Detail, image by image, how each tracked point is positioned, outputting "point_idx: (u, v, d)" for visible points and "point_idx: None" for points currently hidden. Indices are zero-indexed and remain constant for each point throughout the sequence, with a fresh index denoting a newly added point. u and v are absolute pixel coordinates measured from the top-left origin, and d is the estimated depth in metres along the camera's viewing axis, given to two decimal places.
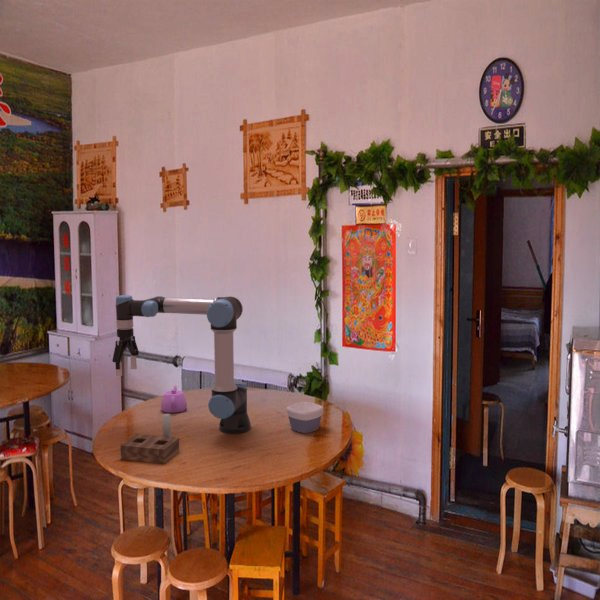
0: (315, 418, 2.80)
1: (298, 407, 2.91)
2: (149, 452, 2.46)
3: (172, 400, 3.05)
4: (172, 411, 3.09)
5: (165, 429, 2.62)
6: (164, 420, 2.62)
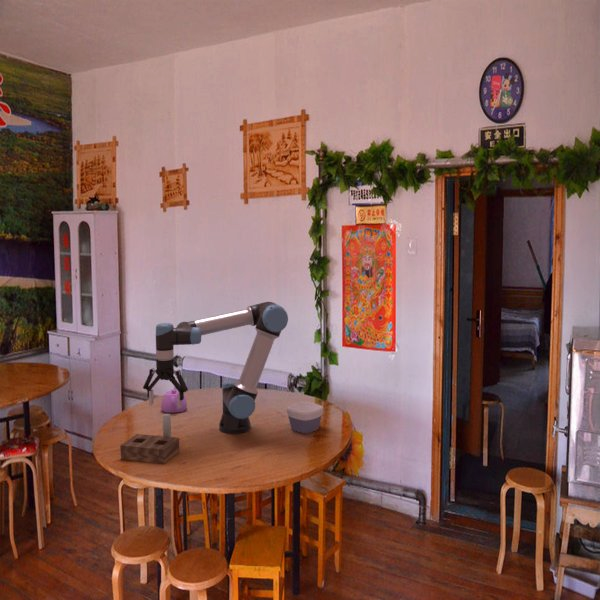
0: (315, 418, 2.80)
1: (298, 407, 2.91)
2: (149, 452, 2.46)
3: (172, 400, 3.05)
4: (172, 411, 3.09)
5: (165, 429, 2.62)
6: (164, 420, 2.62)
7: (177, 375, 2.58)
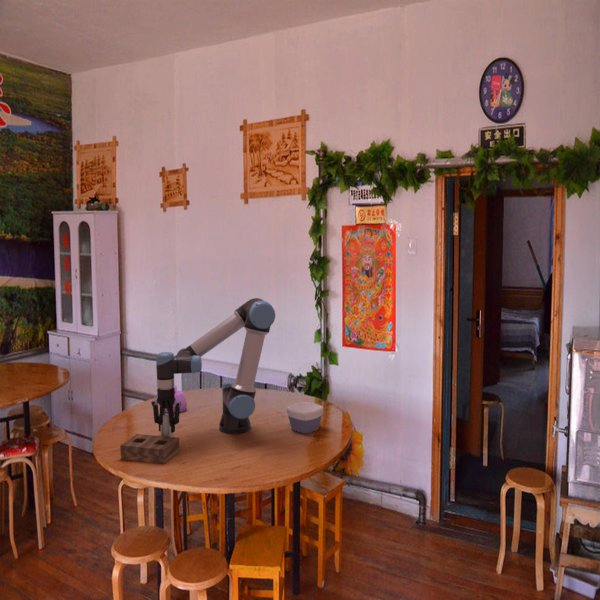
0: (315, 418, 2.80)
1: (298, 407, 2.91)
2: (149, 452, 2.46)
3: None
4: None
5: (165, 429, 2.62)
6: (164, 420, 2.62)
7: (176, 407, 2.60)
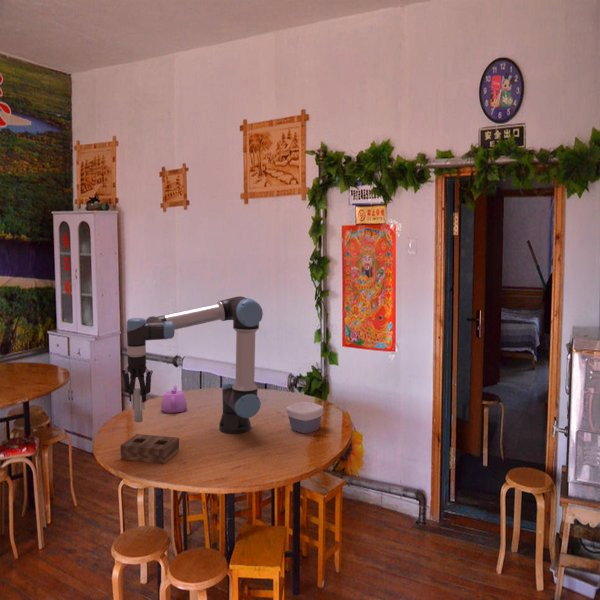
0: (315, 418, 2.80)
1: (298, 407, 2.91)
2: (149, 452, 2.46)
3: (172, 400, 3.05)
4: (172, 411, 3.09)
5: (136, 404, 2.50)
6: (135, 394, 2.50)
7: (147, 375, 2.48)
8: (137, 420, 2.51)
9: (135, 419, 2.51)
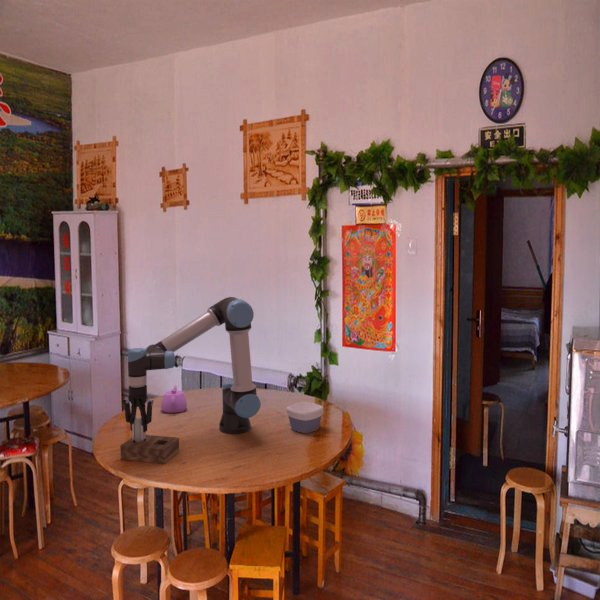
0: (315, 418, 2.80)
1: (298, 407, 2.91)
2: (149, 452, 2.46)
3: (172, 400, 3.05)
4: (172, 411, 3.09)
5: (137, 434, 2.52)
6: (136, 424, 2.52)
7: (148, 405, 2.50)
8: None
9: None
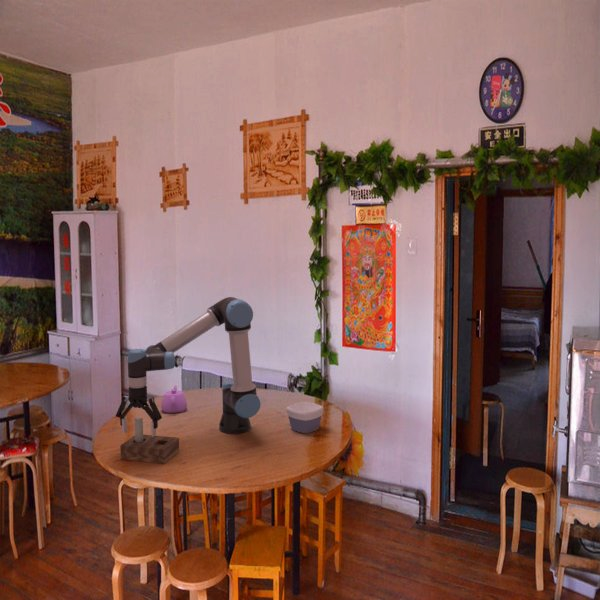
0: (315, 418, 2.80)
1: (298, 407, 2.91)
2: (149, 452, 2.46)
3: (172, 400, 3.05)
4: (172, 411, 3.09)
5: (137, 434, 2.52)
6: (136, 424, 2.51)
7: (150, 403, 2.49)
8: None
9: None
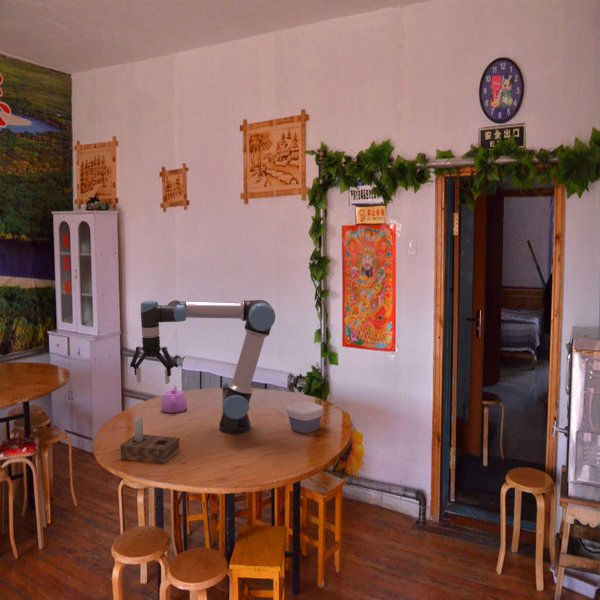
0: (315, 418, 2.80)
1: (298, 407, 2.91)
2: (149, 452, 2.46)
3: (172, 400, 3.05)
4: (172, 411, 3.09)
5: (137, 434, 2.52)
6: (136, 424, 2.51)
7: (164, 351, 2.61)
8: None
9: None
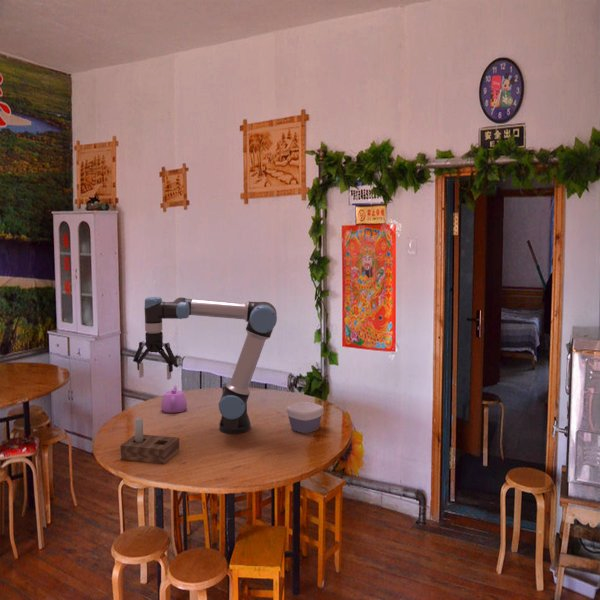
0: (315, 418, 2.80)
1: (298, 407, 2.91)
2: (149, 452, 2.46)
3: (172, 400, 3.05)
4: (172, 411, 3.09)
5: (137, 434, 2.52)
6: (136, 424, 2.52)
7: (166, 347, 2.64)
8: None
9: None
